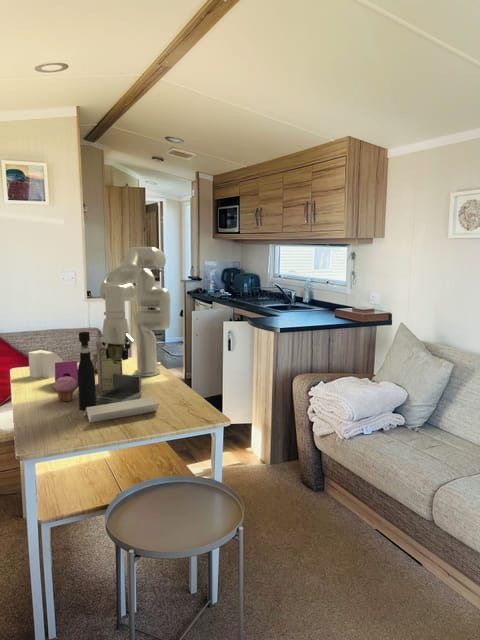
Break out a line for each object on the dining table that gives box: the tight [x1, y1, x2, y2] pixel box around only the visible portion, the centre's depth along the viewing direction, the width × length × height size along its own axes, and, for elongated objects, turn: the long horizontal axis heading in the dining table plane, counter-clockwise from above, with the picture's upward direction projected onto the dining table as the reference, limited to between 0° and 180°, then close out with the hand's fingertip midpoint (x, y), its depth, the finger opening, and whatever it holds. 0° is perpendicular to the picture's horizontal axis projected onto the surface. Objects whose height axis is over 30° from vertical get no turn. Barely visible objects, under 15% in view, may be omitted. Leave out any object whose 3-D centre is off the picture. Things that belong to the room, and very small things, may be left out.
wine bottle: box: [77, 331, 97, 412], centre depth 186 cm, size 6×6×30 cm
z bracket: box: [84, 396, 161, 424], centre depth 180 cm, size 12×25×6 cm
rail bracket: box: [96, 373, 142, 405], centre depth 197 cm, size 13×13×9 cm
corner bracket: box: [28, 349, 64, 379], centre depth 235 cm, size 11×11×12 cm
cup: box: [107, 344, 126, 364], centre depth 195 cm, size 8×7×8 cm
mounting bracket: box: [54, 360, 79, 391], centre depth 218 cm, size 10×9×19 cm
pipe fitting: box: [91, 351, 98, 373], centre depth 244 cm, size 12×8×10 cm
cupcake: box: [53, 376, 77, 402], centre depth 197 cm, size 9×9×10 cm
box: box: [95, 340, 123, 395], centre depth 214 cm, size 17×9×20 cm, turn 21°
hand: (117, 358), depth 195 cm, fingers closed on cup, 7 cm apart
